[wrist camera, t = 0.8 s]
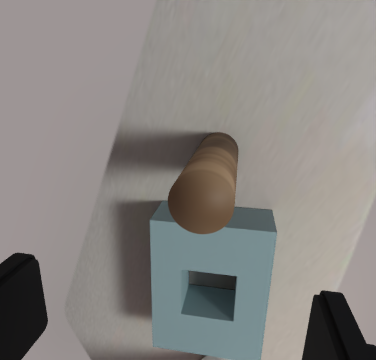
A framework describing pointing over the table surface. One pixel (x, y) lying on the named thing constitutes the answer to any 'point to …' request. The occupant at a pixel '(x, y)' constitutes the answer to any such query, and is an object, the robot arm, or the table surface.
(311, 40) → the table surface
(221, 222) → the peg
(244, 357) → the socket block
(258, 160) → the table surface
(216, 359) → the water bottle
